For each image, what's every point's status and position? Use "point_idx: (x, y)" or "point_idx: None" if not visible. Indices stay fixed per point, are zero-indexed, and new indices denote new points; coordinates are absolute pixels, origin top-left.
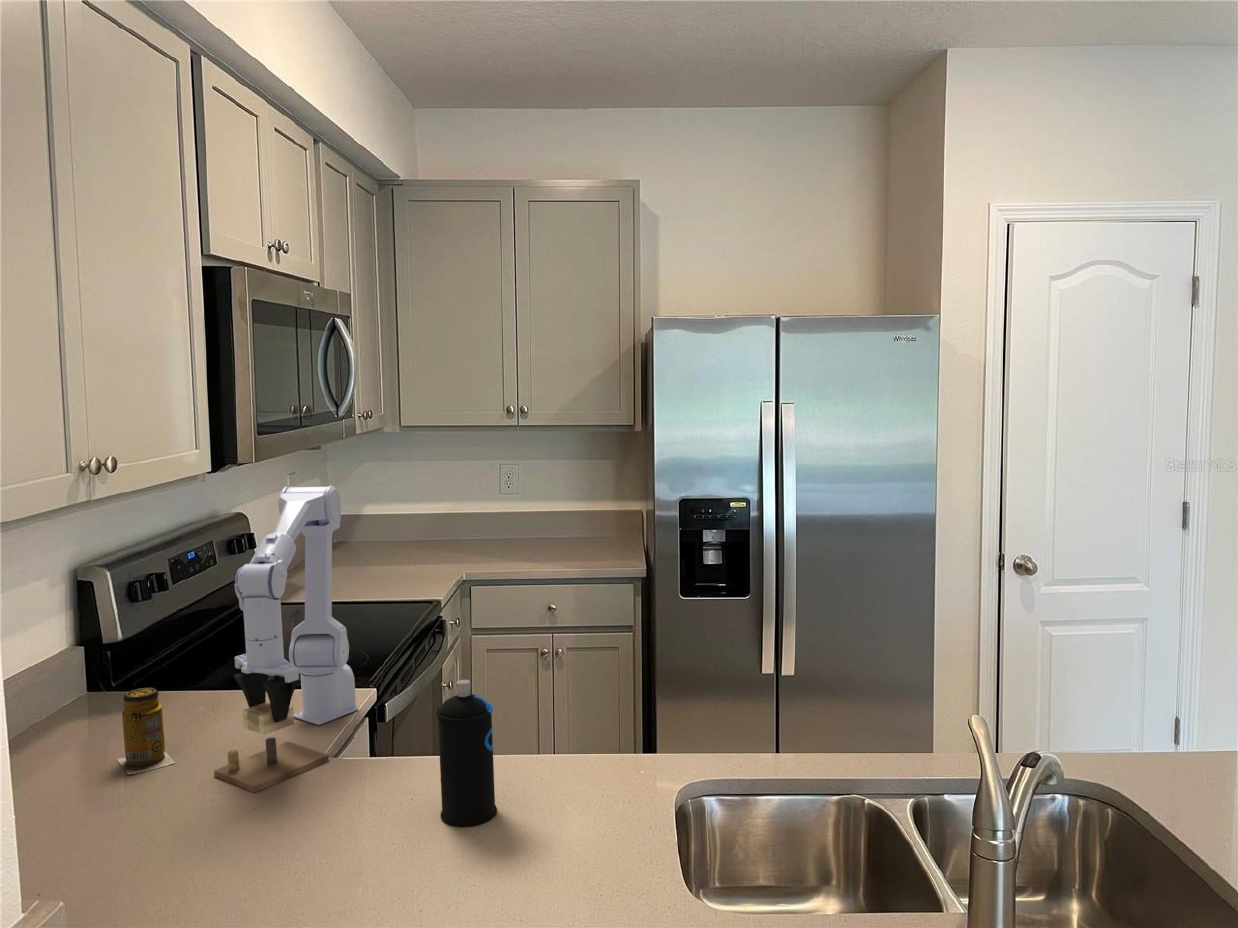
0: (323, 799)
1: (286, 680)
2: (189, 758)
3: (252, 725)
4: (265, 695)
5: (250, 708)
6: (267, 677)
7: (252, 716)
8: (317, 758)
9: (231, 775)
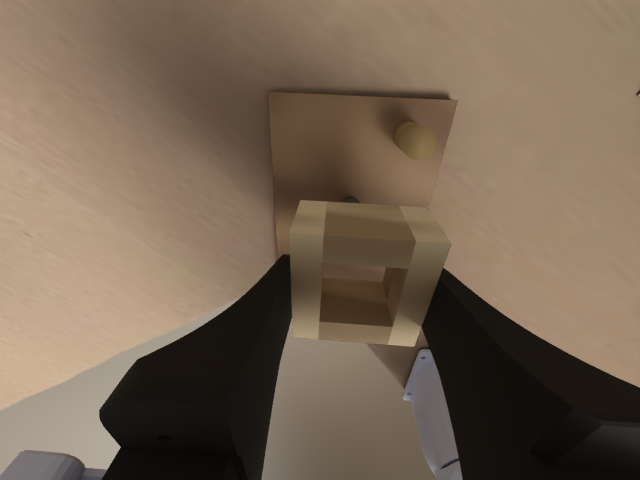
0: (122, 154)
1: (27, 470)
2: (609, 139)
3: (370, 212)
4: (431, 352)
5: (431, 269)
6: (457, 449)
7: (372, 230)
8: None
9: (382, 105)
